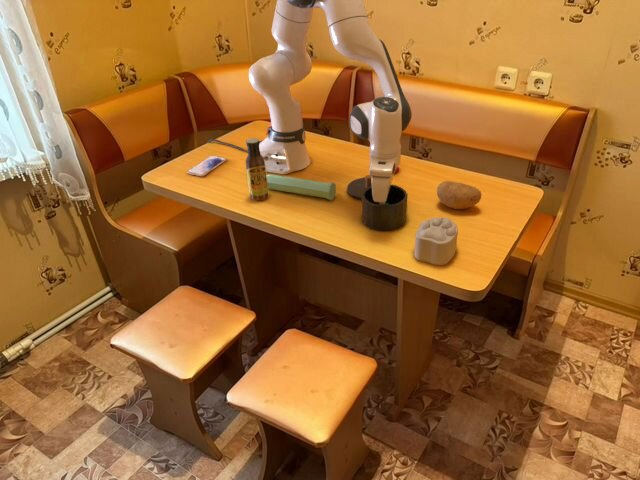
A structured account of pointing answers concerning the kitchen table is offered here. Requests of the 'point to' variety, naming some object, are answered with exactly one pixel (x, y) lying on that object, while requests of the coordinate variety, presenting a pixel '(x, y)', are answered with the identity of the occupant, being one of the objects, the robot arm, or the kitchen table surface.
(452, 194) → the potato
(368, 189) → the pot
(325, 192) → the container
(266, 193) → the sauce bottle
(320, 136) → the kitchen table surface
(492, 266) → the kitchen table surface
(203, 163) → the smartphone
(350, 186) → the pot lid
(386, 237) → the kitchen table surface
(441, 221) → the lumpy-topped squat cylinder
